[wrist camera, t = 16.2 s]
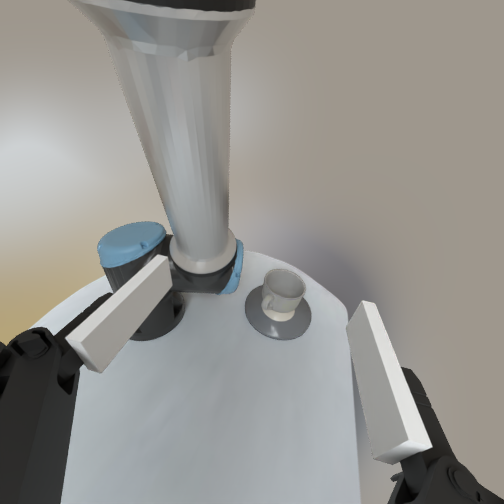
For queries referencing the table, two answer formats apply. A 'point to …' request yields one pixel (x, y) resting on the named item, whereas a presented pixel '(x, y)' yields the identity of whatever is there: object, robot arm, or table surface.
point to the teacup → (282, 291)
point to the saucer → (277, 318)
